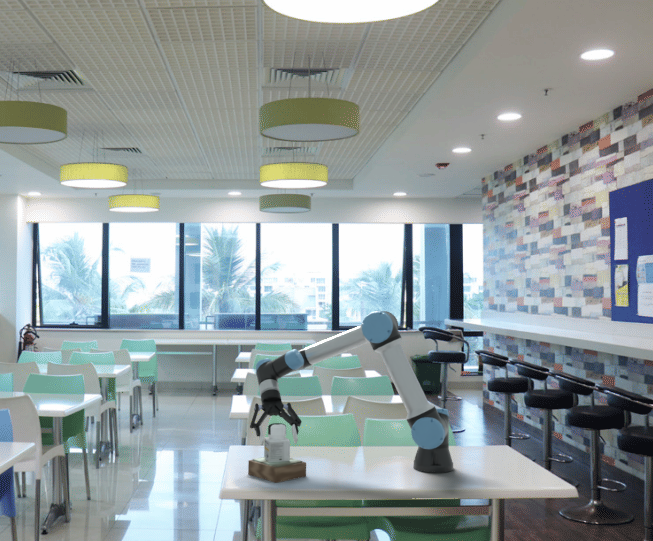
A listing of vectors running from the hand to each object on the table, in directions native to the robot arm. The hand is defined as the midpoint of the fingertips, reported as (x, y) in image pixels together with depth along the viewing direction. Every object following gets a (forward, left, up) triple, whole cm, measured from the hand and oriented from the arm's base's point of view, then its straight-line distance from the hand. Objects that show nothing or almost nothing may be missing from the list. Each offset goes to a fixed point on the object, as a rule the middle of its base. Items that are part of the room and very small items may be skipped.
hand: (279, 442), depth 247 cm
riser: (+2, -1, -12) cm, 13 cm away
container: (+2, -1, -7) cm, 7 cm away
